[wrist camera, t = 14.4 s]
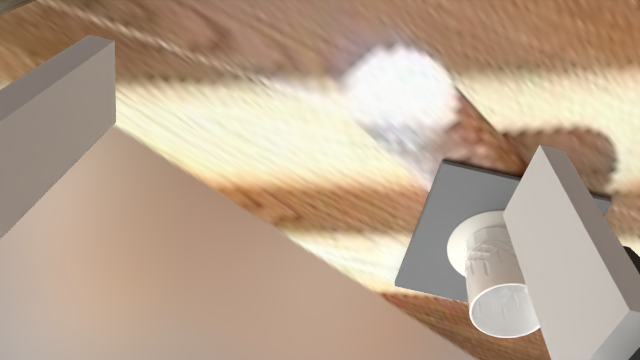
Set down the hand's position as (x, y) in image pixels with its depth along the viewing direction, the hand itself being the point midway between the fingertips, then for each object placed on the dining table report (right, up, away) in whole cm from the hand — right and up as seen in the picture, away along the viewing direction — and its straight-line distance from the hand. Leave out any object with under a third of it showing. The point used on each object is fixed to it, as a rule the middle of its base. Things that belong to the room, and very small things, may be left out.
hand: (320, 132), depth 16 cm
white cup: (+21, -9, +44) cm, 50 cm away
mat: (+21, -9, +45) cm, 50 cm away
